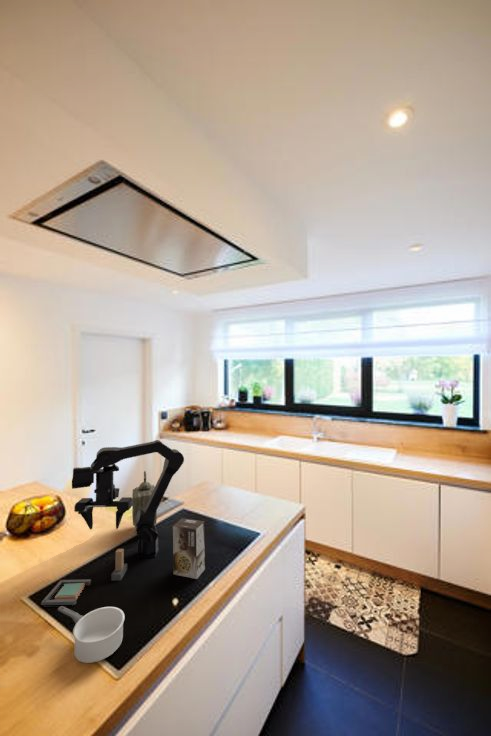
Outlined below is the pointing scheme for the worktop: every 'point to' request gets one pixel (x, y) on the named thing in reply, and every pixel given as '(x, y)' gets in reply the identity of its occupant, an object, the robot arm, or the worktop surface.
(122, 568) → the pusher
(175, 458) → the robot arm
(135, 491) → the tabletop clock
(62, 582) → the corral
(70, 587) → the tile
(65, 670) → the worktop surface
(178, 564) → the coffee box
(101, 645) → the saucepan
